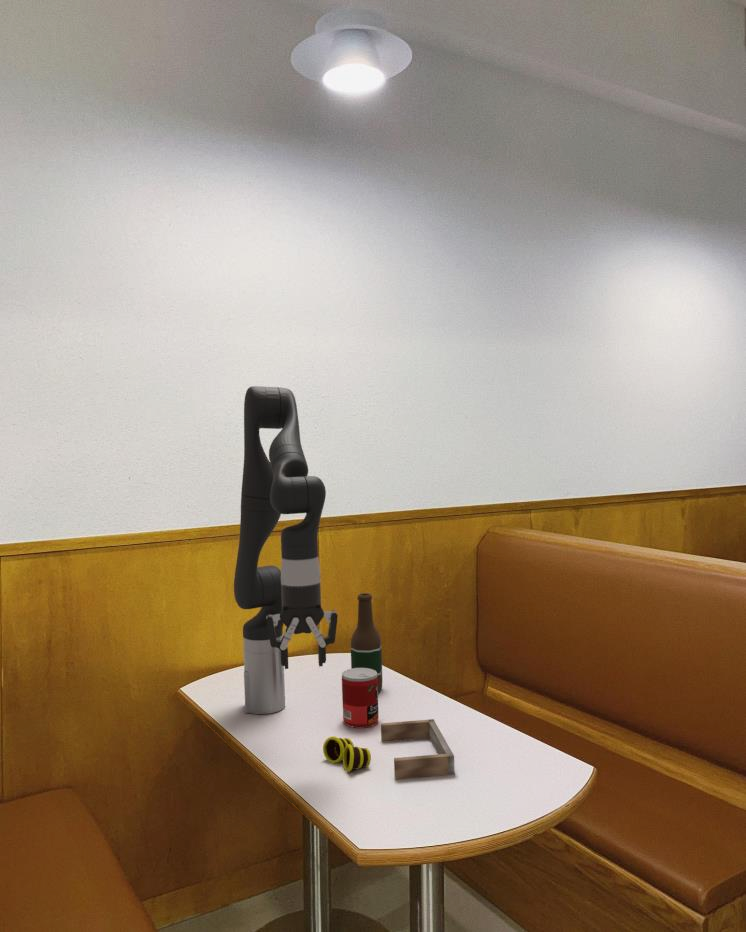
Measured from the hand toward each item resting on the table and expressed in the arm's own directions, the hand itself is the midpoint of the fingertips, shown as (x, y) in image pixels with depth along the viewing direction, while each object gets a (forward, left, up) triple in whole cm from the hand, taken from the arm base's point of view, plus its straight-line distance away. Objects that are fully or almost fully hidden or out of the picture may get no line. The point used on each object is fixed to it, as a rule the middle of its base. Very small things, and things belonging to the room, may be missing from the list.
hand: (303, 666), depth 151 cm
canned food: (+13, +20, -20) cm, 31 cm away
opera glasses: (+8, -1, -20) cm, 22 cm away
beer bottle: (+17, +40, -20) cm, 48 cm away
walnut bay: (+21, 0, -20) cm, 29 cm away
